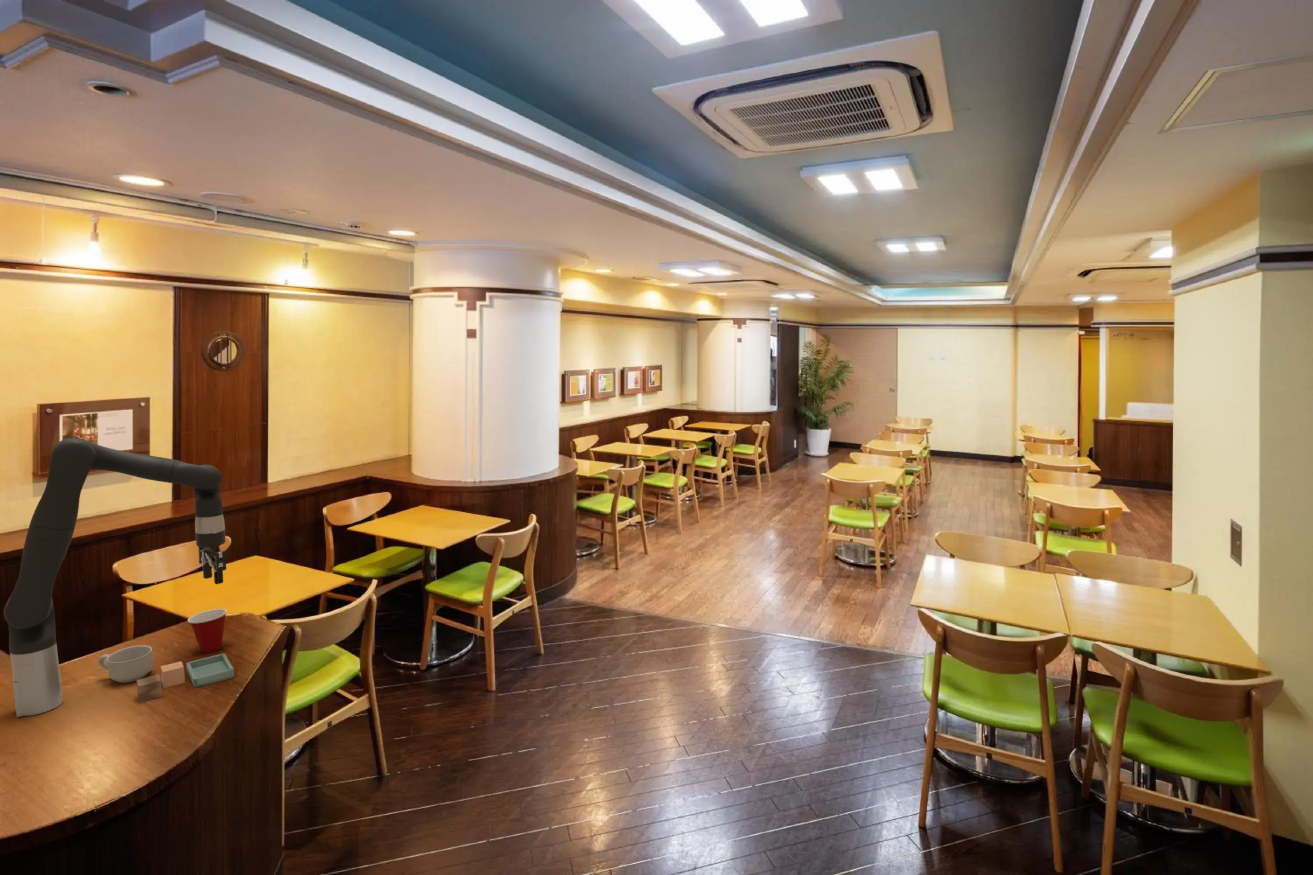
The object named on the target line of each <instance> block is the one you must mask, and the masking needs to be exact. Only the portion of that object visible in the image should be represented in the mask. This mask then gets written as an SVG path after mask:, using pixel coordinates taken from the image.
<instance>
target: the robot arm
mask: <svg viewBox="0 0 1313 875" xmlns="http://www.w3.org/2000/svg"><path fill="white" fill-rule="evenodd" d="M49 459H50V461H49V462H50V463H49V469H48V474H47V480H46V485H45V488H44V491H43V493H42V495H41V497H40V499H39V502H38V503H37V505H36V507H35V509H34V512H33V514H32V516H31V519H30V522H29V525H28V528H27V533H26V536H25V540H24V544H23V548H22V555H21V562H20V569H19V573H18V578H17V580H16V583H15V586H14V588H13V590H12V593H11V594H10V596H9V598H8V600H7V602H6V604H5V606H4V609H3V617H4V619H5V621H6V622H7V625H8V636H9V637H8V647H9V649H8V650H9V656H10V663H11V664H10V665H11V671H12V672H11V673H12V674H11V675H12V680H13V681H12V689H13V697H14V706H15V714H16V718H20V717H27V716H35V715H40V714H42V713H47V712H49V711H51V710H53V709H56V708H57V707H59V706H61V705H62V704H63V701H64V700H63V690H62V681H61V680H62V679H61V673H60V665H59V664H60V662H59V655H58V646H57V637H56V636H57V635H56V633H57V631H56V630H57V628H56V626H57V625H56V617H55V608H54V600H53V597H52V596H53V590H54V585H55V582H56V577H57V575H58V572H59V570H60V567H61V566H62V563H63V562H64V560H65V558H66V556H67V552H68V550H69V547H70V545H71V542H72V538H73V535H74V532H75V529H76V524H77V521H78V515H79V510H80V509H79V508H80V499H81V494H82V490H83V487H84V484H85V482H86V480H87V478H88V475H89V472H91V470H96V471H97V470H98V471H108V472H109V471H110V472H113V473H120V474H123V475H128V476H132V477H136V478H140V479H145V480H149V481H155V482H160V483H161V482H162V483H168V484H177V485H182V486H185V487H190V488H193V494H194V511H195V515H194V516H195V518H194V527H195V528H194V530H195V545H196V546H197V548H198V563H199V565H201V567H202V576H203V579H205V580H207V579H211V578H212V577H213V580H214V581H213V582H214V584H215V585H220V584H223V583H224V572H223V571H227V562H226V552H225V550H221V548H220V546H221V545H224V544H226V527H225V518H224V510H223V500H222V497H221V495H220V493H221V491H220V484H221V483H222V481H223V475H222V473H221V471H220V470H219V469H218V468H216V467H215V466H213V465H211V464H200V465H199V464H192V463H187V462H185V461H181V460H178V459H173V458H167V457H162V456H157V455H150V454H149V455H148V454H143V453H142V454H141V453H137V452H136V453H135V452H130V451H129V452H128V451H122V450H119V449H115V448H110V447H108V446H107V447H106V446H103V445H100V444H97V443H93V442H91V441H87V440H85V439H83V438H79V437H68V438H65V439H61V440H60V441H58V442H57V443H55V445H54V446H53V447H52V450H51V452H50V458H49Z"/></svg>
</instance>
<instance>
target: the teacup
mask: <svg viewBox="0 0 1313 875" xmlns="http://www.w3.org/2000/svg"><path fill="white" fill-rule="evenodd" d="M104 659H105V660H106V662H107V663H106V662H105V661H104ZM153 659H154V657H153V648H152V647H151V646H150V645H145V644H143V645H142V644H141V645H140V644H139V645H133V646H128V647H124V648H121V649H118V650H116V651H114V652H112V653H110V654H103V655H101V656H100V657H98V661H97V663H98V665H99V667H101V668H102V669H103V670H106V671H108V674H109V677H110V678H111V679H112V680H113V681H114V682H115V681H116V682H118V683H121V684H126V683H127V684H128V683H133V682H137V680H139V679H143V678H145V676H147V674H148V673H149V672H151V670H152V669H153V665H154V660H153Z"/></svg>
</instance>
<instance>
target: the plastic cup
mask: <svg viewBox="0 0 1313 875" xmlns="http://www.w3.org/2000/svg"><path fill="white" fill-rule="evenodd" d="M226 615H227V609H225V608H214V609H209V610H205V611H201V612H198V613H195V614H194V615H192V616H190V617H189V618H188V619H187V623H189V624H190V626H191V629H192V631H193V632H194V636H195V640H196V641H197V644H198V647H199V651H200V652H201V653H212V652H213V653H214V652H215V651H218V650H220V649H221V648H222V646H223V638H224V629H225V620H226Z"/></svg>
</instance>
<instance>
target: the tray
mask: <svg viewBox="0 0 1313 875" xmlns="http://www.w3.org/2000/svg"><path fill="white" fill-rule="evenodd" d="M185 664H186V665H185V668H186V672H187V674H188V675H187V676H189V680H190V681H191V683H192V684H191V685H192V687H193V689H195V688H200V687H204V686H207V685H211V684H215V683H218V682H223V681H225V680H229V679H233V678H235V668H234V666H233V665H232V663H231V662H230V660H229V658H228V657H227V655H226V653H224V652H223V653H220V654H219V653H218V654H216V655H215V654H214V655H212V656H208V657H204V658H200V659H196V660H192V661H188V662H186V663H185Z"/></svg>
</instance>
